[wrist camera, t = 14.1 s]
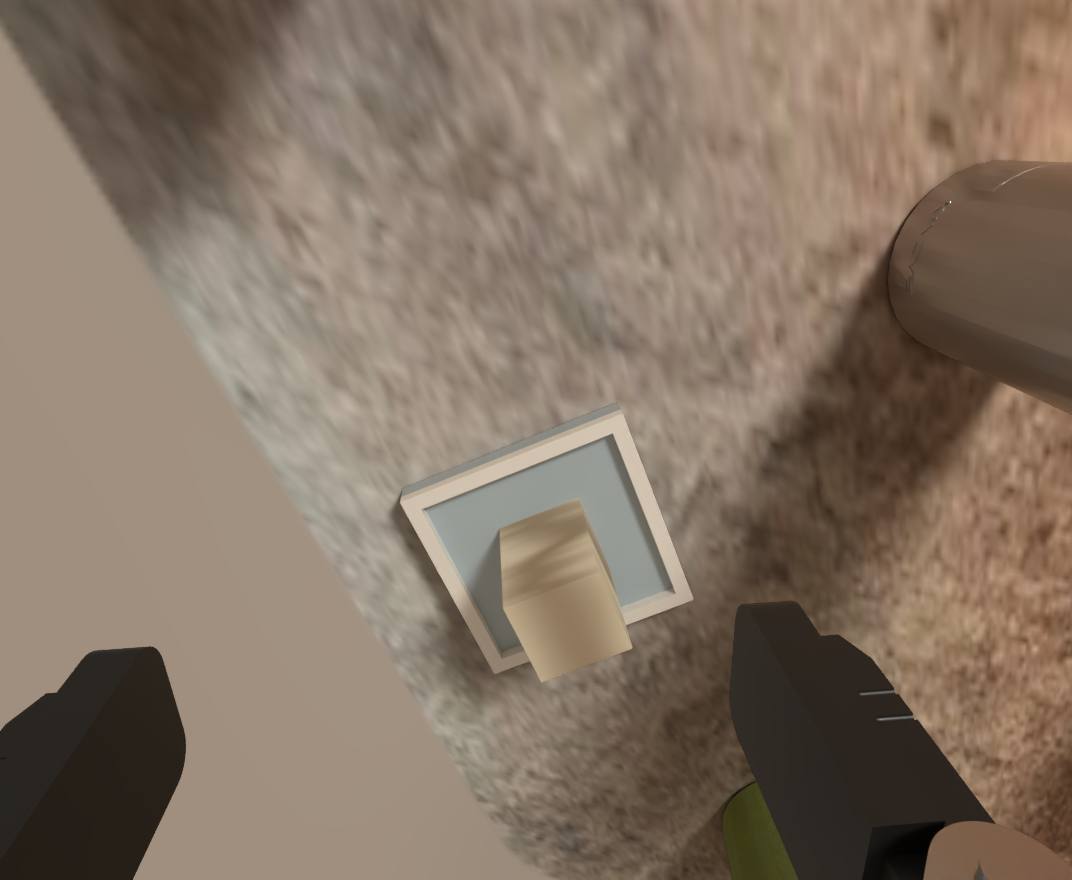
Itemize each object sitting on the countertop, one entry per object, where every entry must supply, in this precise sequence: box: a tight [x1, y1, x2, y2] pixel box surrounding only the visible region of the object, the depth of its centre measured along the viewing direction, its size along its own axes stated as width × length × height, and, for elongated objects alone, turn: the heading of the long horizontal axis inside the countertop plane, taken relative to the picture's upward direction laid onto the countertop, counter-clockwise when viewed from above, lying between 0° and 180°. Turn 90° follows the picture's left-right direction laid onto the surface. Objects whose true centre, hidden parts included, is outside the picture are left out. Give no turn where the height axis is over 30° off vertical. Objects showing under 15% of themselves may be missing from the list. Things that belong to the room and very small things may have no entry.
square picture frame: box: [400, 403, 694, 674], centre depth 39 cm, size 12×12×2 cm
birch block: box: [499, 498, 633, 682], centre depth 35 cm, size 4×4×7 cm
